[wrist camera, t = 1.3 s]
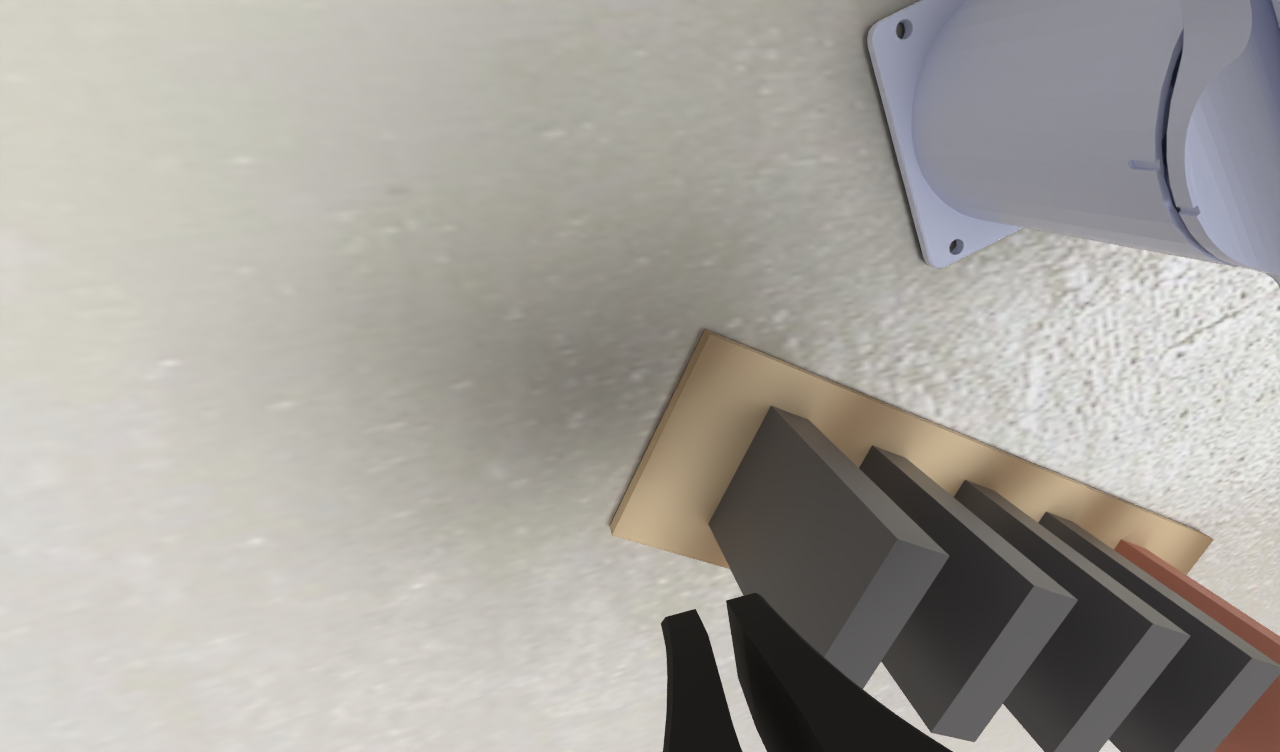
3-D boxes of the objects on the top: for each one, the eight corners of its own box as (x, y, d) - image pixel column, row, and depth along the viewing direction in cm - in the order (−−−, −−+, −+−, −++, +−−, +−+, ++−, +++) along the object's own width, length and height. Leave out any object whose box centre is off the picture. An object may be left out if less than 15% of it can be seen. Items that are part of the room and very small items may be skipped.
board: (1200, 531, 29) (1213, 539, 29) (1097, 666, 31) (1108, 676, 31) (705, 328, 22) (710, 334, 21) (609, 525, 24) (612, 535, 23)
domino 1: (808, 419, 23) (949, 556, 15) (745, 535, 24) (847, 712, 17) (770, 405, 22) (897, 538, 15) (708, 524, 24) (796, 701, 16)
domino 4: (1073, 521, 27) (1284, 668, 20) (1006, 616, 28) (1182, 788, 21) (1045, 511, 26) (1252, 658, 19) (979, 608, 28) (1149, 780, 20)
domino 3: (995, 491, 26) (1190, 635, 18) (929, 591, 27) (1087, 765, 19) (965, 479, 25) (1153, 623, 18) (899, 582, 26) (1049, 757, 19)
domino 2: (905, 458, 24) (1078, 600, 17) (841, 565, 25) (974, 742, 18) (872, 445, 24) (1033, 585, 16) (807, 555, 25) (931, 732, 18)
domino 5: (1145, 548, 28) (1369, 695, 21) (1079, 637, 29) (1268, 805, 22) (1121, 539, 28) (1341, 686, 20) (1055, 630, 29) (1239, 799, 22)
